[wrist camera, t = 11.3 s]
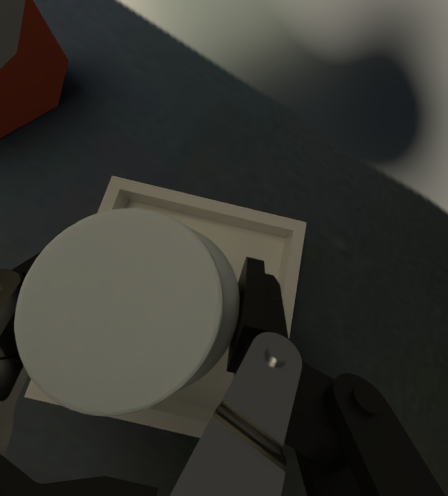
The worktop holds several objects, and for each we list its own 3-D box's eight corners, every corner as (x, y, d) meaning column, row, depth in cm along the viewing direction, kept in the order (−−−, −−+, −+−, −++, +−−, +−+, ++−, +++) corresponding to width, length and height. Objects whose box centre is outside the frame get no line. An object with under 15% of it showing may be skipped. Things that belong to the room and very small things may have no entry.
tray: (56, 380, 14) (24, 396, 12) (125, 193, 17) (112, 175, 15) (261, 428, 14) (271, 454, 12) (293, 233, 18) (306, 222, 15)
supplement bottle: (239, 280, 14) (298, 239, 5) (202, 365, 13) (186, 532, 4) (164, 245, 14) (80, 140, 5) (120, 325, 13) (-100, 381, 4)
